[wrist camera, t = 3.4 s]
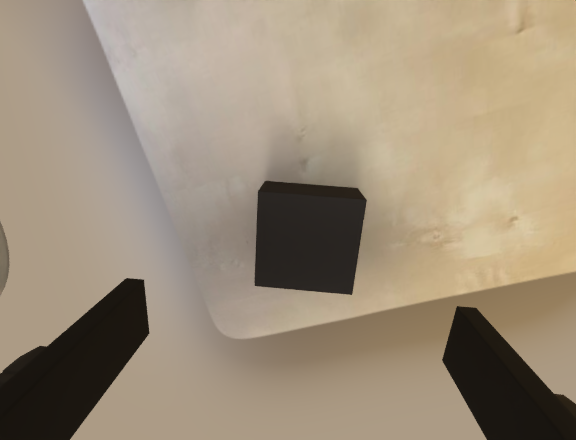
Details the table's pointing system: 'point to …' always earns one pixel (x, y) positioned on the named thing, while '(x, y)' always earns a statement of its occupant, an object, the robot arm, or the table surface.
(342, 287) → the foam pad
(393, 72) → the table surface
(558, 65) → the table surface
